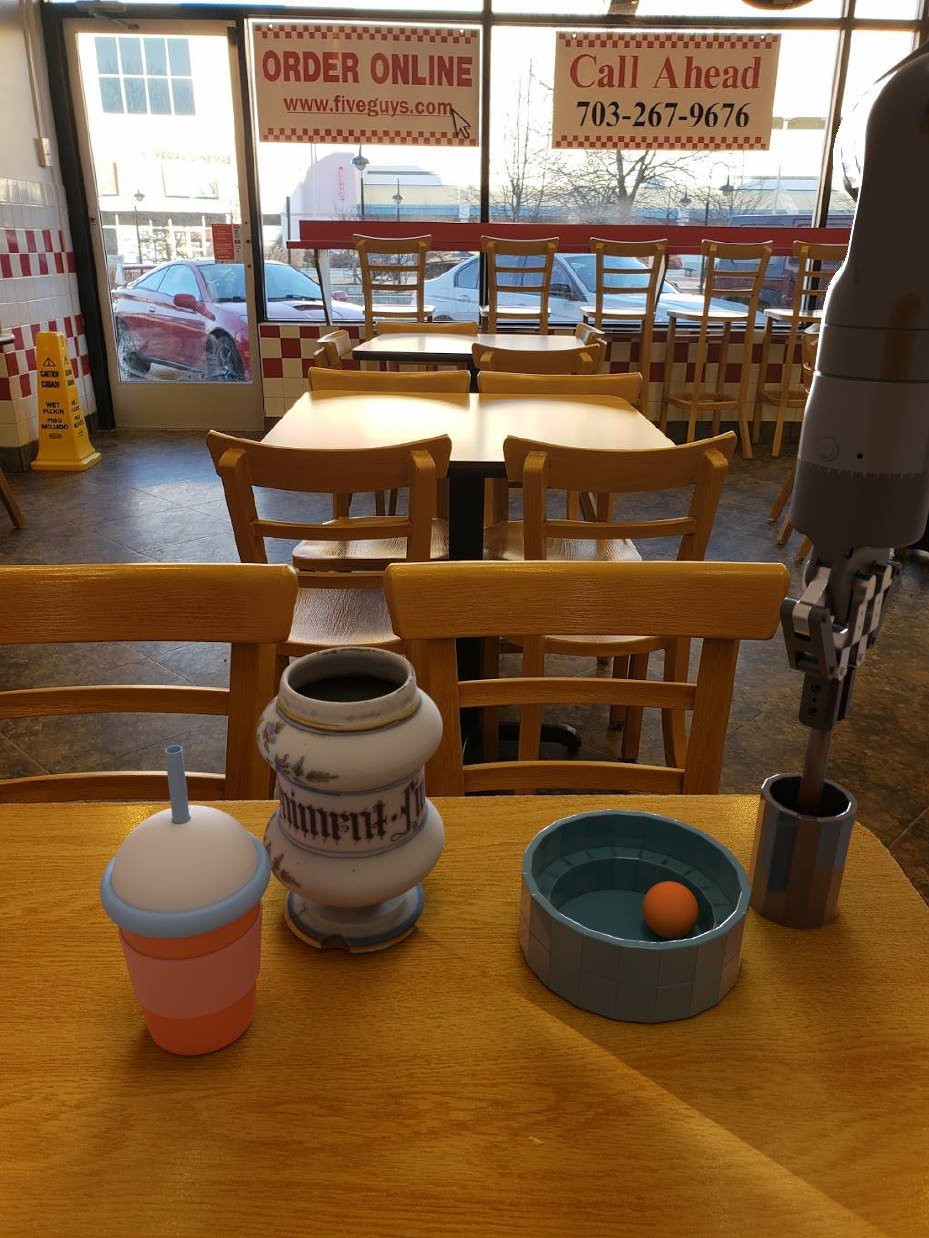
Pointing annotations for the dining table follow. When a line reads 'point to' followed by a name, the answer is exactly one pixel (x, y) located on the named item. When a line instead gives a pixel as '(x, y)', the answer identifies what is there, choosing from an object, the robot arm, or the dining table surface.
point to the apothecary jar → (351, 797)
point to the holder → (800, 853)
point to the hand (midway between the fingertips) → (822, 720)
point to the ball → (670, 910)
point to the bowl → (630, 915)
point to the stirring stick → (814, 772)
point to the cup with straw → (190, 919)
